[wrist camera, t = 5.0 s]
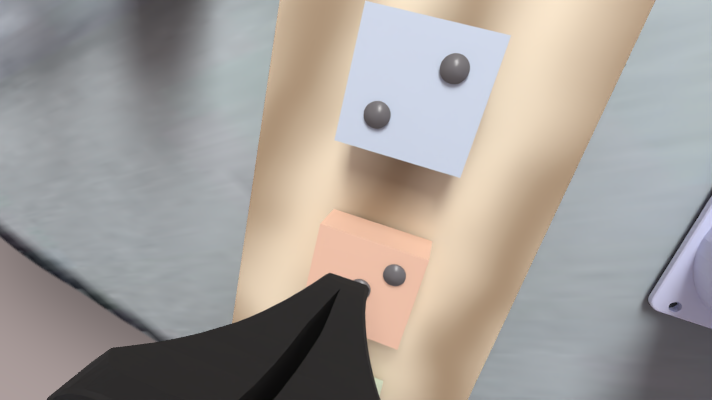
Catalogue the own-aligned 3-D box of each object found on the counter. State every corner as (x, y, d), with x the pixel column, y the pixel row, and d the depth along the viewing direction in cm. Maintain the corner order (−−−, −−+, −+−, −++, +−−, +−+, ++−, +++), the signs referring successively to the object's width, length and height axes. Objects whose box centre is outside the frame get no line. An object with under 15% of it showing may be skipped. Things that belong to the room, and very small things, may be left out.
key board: (633, 6, 16) (656, -3, 14) (425, 465, 26) (422, 496, 24) (309, -65, 18) (291, -80, 16) (235, 385, 28) (219, 408, 26)
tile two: (504, 39, 14) (511, 34, 12) (460, 165, 16) (460, 179, 14) (377, 9, 15) (364, -1, 13) (348, 132, 17) (333, 140, 15)
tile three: (432, 241, 18) (429, 261, 16) (403, 324, 20) (396, 351, 18) (334, 208, 19) (319, 224, 17) (314, 291, 21) (299, 314, 19)
